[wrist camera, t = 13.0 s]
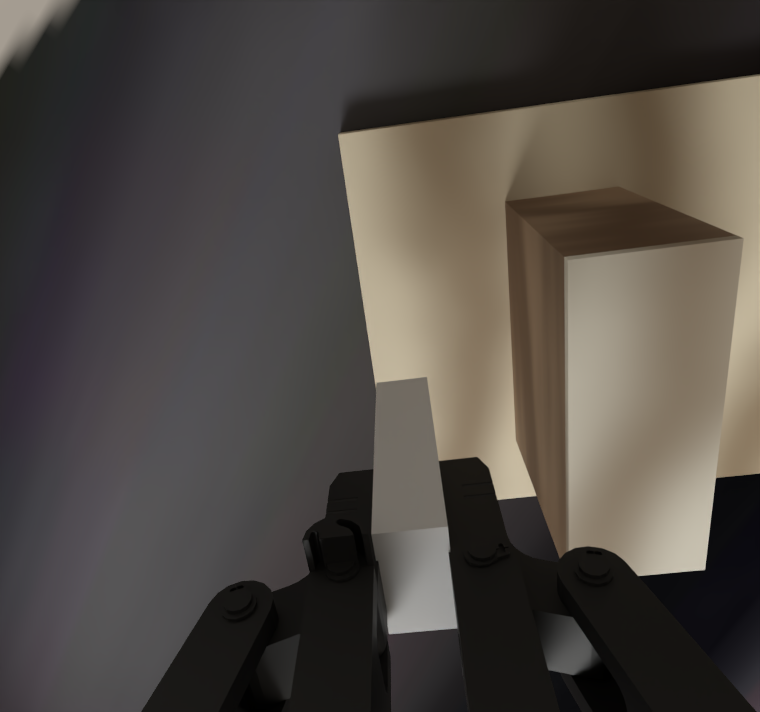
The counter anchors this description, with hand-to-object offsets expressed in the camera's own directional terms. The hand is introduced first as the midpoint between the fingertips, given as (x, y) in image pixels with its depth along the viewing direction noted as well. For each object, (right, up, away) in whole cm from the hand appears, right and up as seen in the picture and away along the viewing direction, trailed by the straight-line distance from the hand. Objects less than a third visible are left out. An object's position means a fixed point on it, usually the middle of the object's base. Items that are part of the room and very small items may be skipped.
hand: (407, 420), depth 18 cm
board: (+9, +4, +6) cm, 11 cm away
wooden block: (+6, +3, +5) cm, 9 cm away
